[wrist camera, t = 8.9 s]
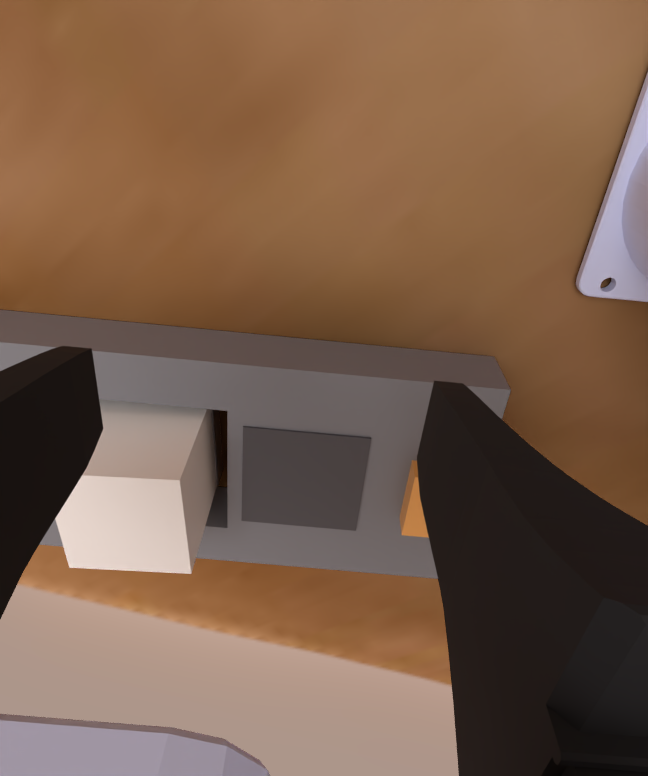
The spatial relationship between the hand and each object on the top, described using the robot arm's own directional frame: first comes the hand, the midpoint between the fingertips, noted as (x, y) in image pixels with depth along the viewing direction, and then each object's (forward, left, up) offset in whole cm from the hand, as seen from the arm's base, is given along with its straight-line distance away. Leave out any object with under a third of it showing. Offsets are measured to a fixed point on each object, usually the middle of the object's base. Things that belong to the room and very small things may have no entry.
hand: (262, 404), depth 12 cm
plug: (+5, +8, -10) cm, 13 cm away
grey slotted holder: (+2, +8, -9) cm, 13 cm away
